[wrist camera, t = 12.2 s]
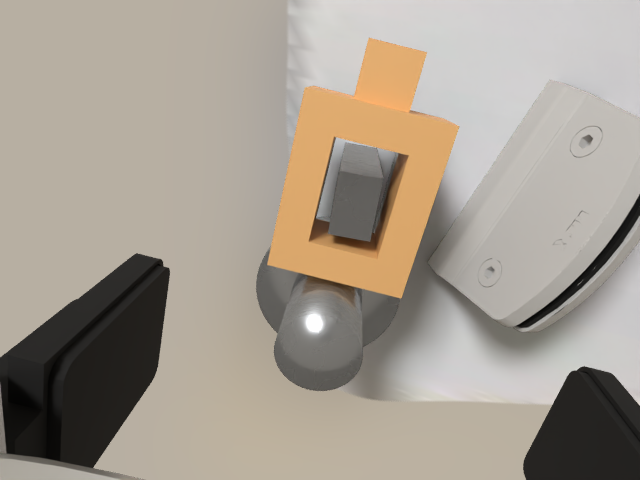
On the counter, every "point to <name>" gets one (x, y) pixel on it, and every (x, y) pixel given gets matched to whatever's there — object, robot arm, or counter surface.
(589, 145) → the white curved casing
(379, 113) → the bracket
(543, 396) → the counter surface
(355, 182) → the grey rectangular bar
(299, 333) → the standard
